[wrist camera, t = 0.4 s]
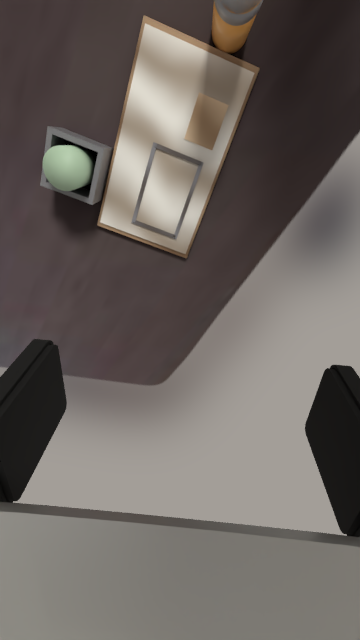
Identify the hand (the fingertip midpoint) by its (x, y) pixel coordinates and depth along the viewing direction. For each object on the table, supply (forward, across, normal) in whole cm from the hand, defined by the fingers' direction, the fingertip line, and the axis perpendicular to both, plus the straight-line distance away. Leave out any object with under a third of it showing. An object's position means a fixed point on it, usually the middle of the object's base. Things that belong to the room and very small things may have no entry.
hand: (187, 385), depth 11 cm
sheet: (+28, +4, -6) cm, 29 cm away
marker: (+28, -1, -16) cm, 33 cm away
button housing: (+28, +13, -5) cm, 31 cm away
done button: (+27, +13, -5) cm, 30 cm away
